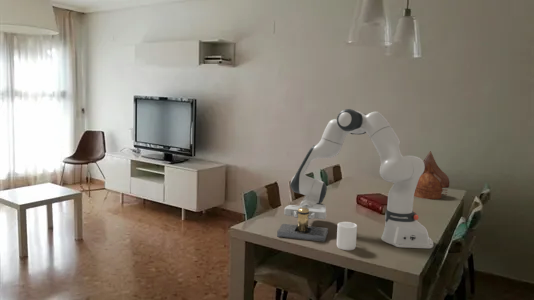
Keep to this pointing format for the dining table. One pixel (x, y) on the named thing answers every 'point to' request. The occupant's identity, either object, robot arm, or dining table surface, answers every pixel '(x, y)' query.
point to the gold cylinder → (303, 219)
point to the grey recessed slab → (302, 232)
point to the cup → (346, 235)
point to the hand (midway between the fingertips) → (302, 216)
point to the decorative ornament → (431, 180)
